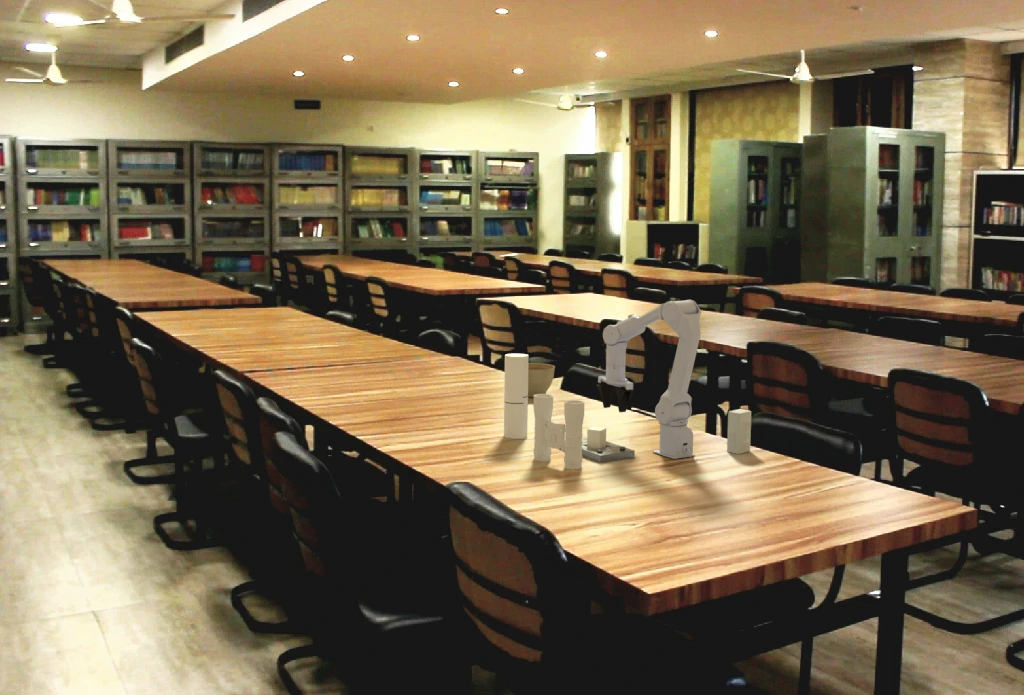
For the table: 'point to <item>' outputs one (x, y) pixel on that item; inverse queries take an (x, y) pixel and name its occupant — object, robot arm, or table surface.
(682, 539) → the table surface
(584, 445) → the strike plate
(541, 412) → the binoculars
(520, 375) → the cylindrical container
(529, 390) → the planter bowl
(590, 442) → the cream rectangular block
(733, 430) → the skincare box
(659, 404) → the robot arm
